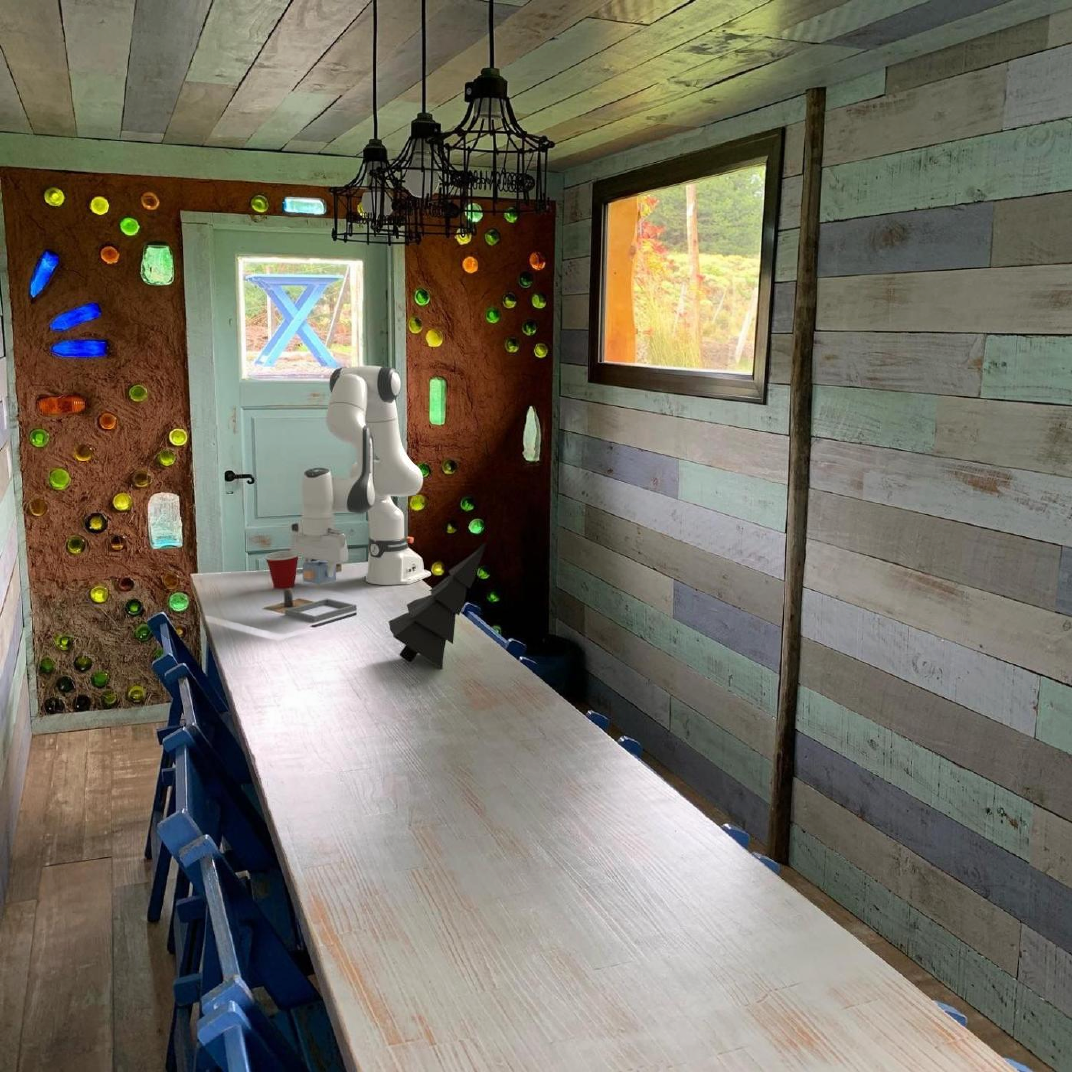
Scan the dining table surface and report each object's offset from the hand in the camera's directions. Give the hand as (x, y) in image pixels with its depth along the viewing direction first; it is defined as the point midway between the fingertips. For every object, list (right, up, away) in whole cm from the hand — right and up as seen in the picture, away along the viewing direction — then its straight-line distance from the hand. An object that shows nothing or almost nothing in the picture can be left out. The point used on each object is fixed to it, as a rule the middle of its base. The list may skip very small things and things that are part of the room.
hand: (319, 574), depth 305 cm
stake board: (-10, -11, +10) cm, 17 cm away
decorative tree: (+37, -20, -34) cm, 54 cm away
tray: (0, -12, +3) cm, 13 cm away
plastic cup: (-18, -6, +32) cm, 37 cm away
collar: (0, -2, 0) cm, 2 cm away
